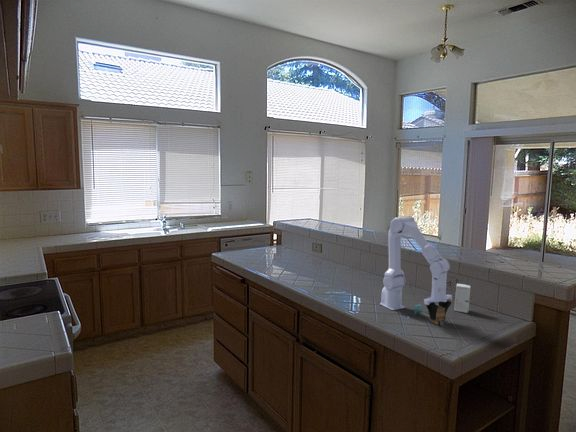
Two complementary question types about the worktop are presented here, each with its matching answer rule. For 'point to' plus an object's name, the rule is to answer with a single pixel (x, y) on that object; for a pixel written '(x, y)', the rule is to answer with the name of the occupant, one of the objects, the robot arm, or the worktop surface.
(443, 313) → the keeper
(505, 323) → the worktop surface
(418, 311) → the rail
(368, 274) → the worktop surface
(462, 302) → the skincare box
